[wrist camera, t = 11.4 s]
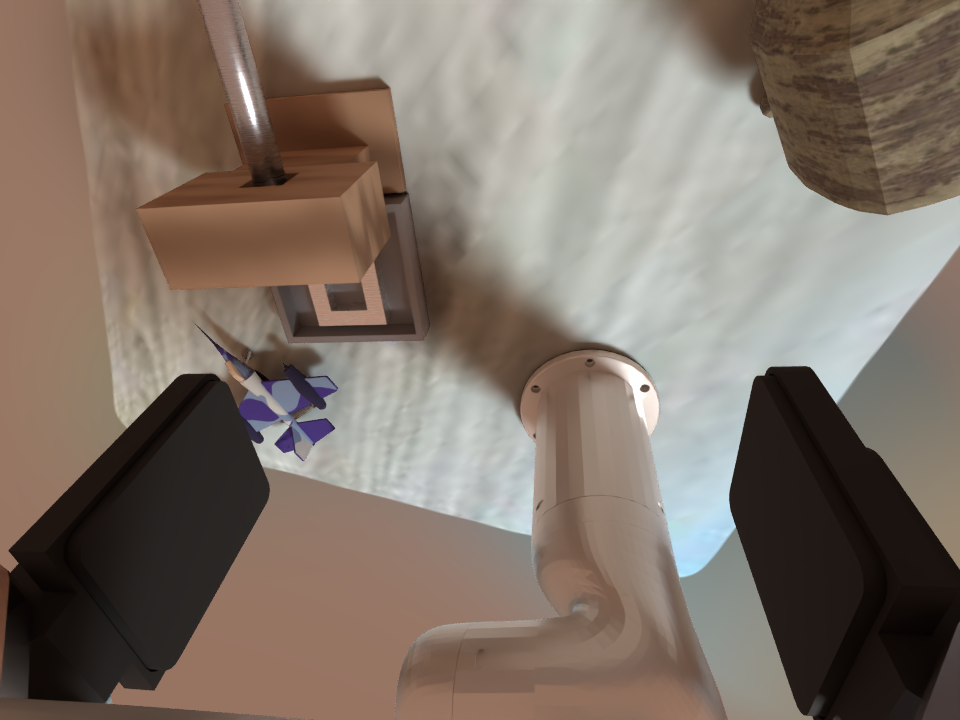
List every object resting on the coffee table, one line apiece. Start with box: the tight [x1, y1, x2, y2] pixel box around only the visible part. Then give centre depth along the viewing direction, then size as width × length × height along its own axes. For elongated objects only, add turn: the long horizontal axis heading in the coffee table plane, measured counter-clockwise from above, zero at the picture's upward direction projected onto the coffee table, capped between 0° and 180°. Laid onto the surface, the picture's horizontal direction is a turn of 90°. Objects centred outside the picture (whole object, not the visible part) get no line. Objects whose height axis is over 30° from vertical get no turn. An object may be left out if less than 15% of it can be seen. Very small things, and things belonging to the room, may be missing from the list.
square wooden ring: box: [308, 255, 391, 326], centre depth 47 cm, size 1×6×6 cm
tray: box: [270, 194, 430, 343], centre depth 46 cm, size 12×12×2 cm
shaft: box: [197, 0, 287, 187], centre depth 28 cm, size 22×4×8 cm, turn 5°
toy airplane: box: [197, 326, 338, 461], centre depth 53 cm, size 13×14×4 cm
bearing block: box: [136, 88, 406, 290], centre depth 36 cm, size 8×12×14 cm
